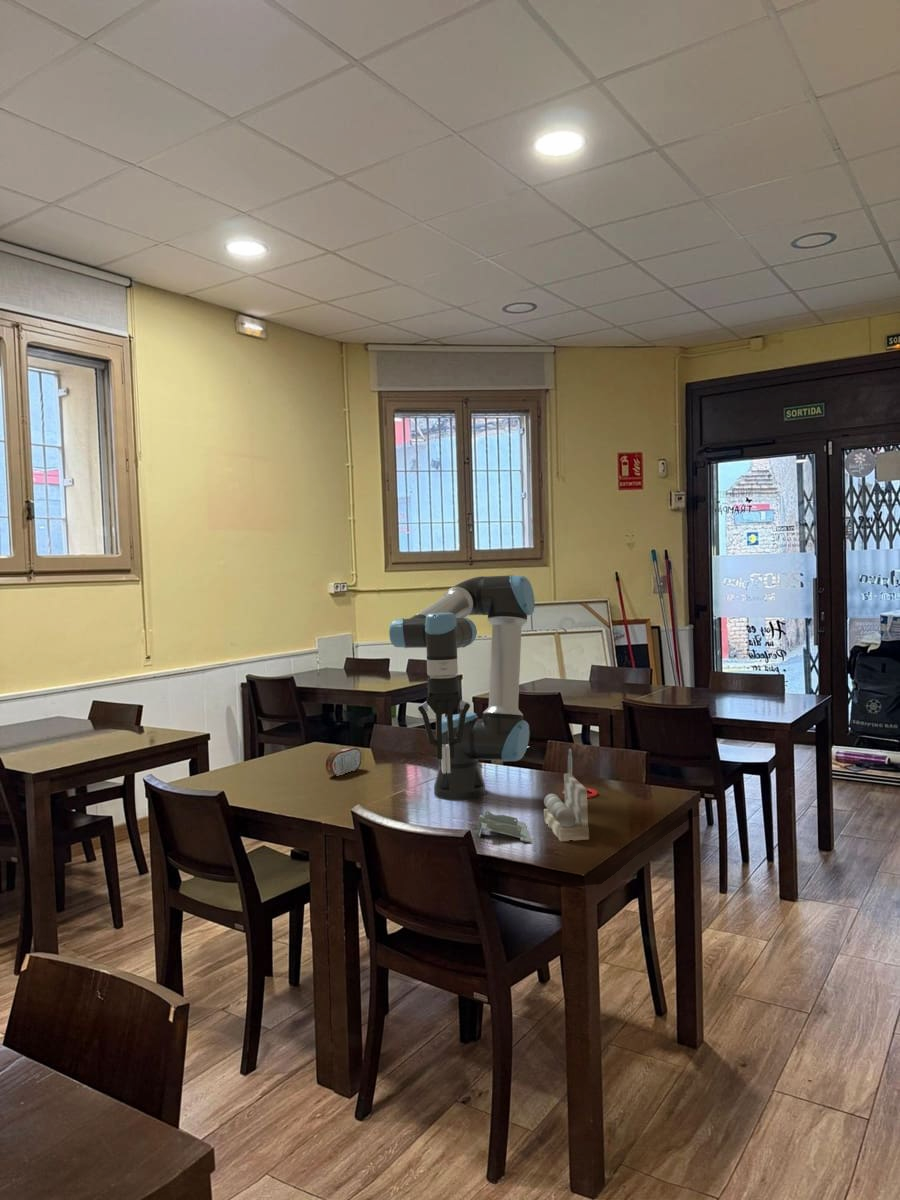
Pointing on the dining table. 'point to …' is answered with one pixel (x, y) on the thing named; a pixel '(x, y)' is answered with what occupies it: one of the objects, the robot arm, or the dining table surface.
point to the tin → (343, 760)
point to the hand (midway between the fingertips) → (446, 771)
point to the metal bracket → (503, 826)
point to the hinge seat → (568, 811)
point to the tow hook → (572, 775)
